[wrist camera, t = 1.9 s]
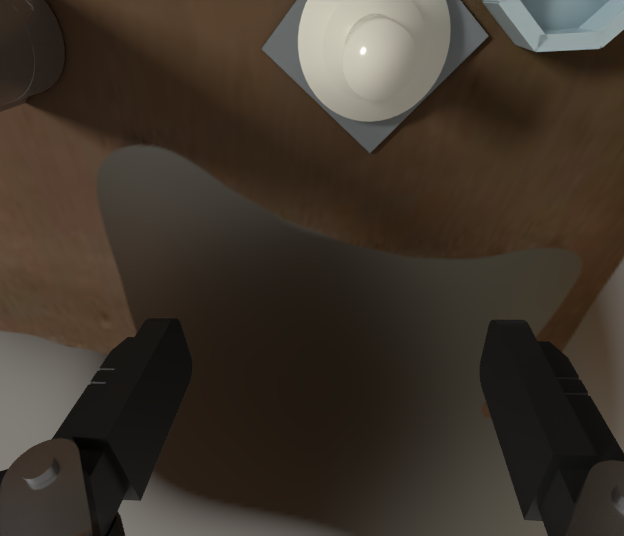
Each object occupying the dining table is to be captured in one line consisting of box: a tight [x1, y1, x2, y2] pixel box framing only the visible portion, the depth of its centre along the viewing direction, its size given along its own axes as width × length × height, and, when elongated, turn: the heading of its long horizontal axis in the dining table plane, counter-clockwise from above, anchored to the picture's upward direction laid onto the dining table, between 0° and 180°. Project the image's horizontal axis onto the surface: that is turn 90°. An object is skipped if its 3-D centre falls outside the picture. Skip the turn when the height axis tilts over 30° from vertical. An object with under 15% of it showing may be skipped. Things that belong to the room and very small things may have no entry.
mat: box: [262, 0, 488, 153], centre depth 31 cm, size 12×12×1 cm
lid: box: [298, 0, 451, 122], centre depth 27 cm, size 11×11×10 cm
